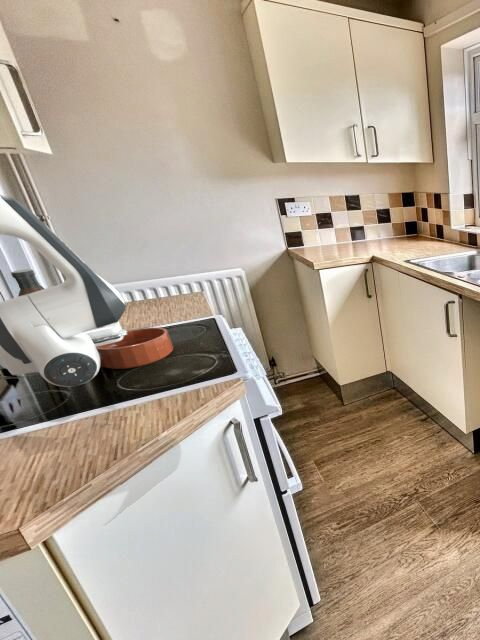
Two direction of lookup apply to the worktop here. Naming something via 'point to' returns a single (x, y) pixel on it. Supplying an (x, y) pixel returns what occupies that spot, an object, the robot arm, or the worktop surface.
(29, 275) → the sauce bottle
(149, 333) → the bowl
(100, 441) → the worktop surface
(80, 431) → the worktop surface
